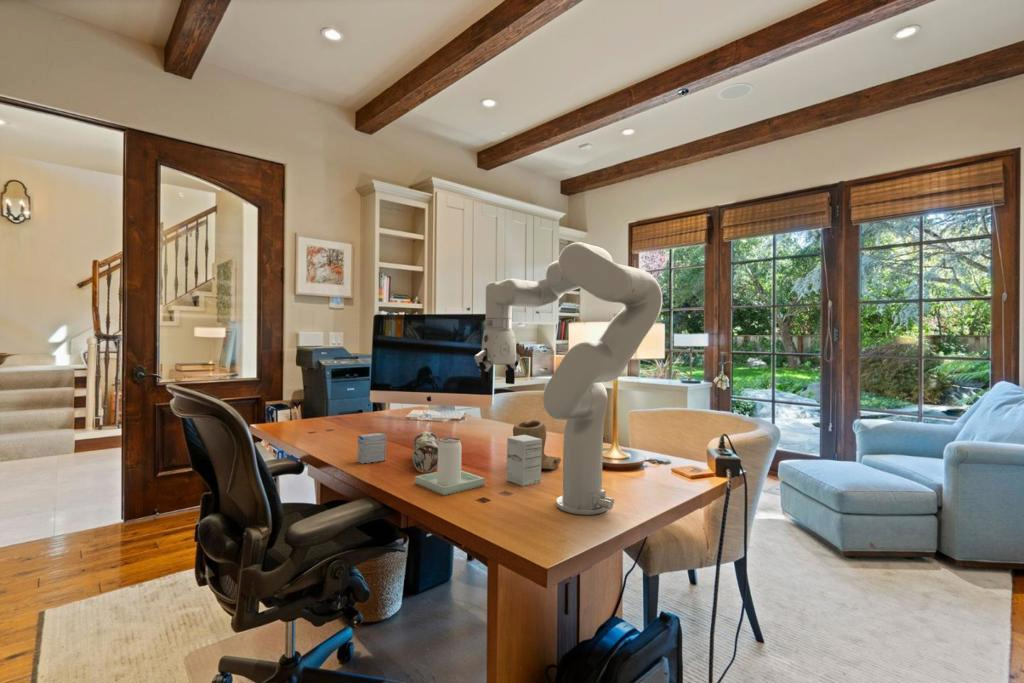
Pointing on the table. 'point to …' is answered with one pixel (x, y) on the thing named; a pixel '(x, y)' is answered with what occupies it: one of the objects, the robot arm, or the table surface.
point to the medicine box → (371, 448)
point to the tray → (466, 483)
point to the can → (449, 461)
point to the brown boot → (538, 431)
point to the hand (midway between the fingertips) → (498, 384)
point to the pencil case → (425, 452)
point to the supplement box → (524, 459)
